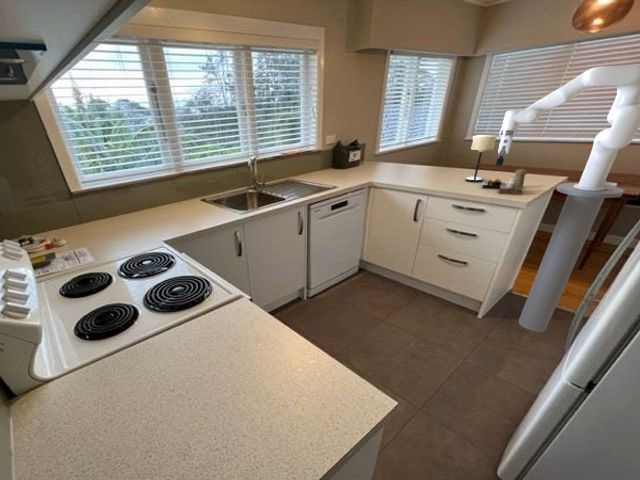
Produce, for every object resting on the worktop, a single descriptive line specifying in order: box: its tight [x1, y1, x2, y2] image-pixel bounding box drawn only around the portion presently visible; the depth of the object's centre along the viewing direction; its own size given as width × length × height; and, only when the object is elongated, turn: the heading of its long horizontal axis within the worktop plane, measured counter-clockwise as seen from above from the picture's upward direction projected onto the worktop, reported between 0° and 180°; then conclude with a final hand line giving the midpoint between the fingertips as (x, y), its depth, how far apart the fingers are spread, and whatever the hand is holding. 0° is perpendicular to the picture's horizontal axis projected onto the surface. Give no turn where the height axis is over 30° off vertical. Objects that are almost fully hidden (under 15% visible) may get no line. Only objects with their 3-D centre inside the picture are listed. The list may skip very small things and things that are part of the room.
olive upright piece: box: [514, 168, 528, 189], centre depth 181 cm, size 6×6×11 cm
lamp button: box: [491, 177, 500, 182], centre depth 186 cm, size 4×4×2 cm
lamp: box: [465, 134, 498, 183], centre depth 199 cm, size 12×12×29 cm
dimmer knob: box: [506, 176, 518, 188], centre depth 173 cm, size 4×4×6 cm
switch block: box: [482, 179, 506, 190], centre depth 187 cm, size 11×9×4 cm
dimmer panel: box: [498, 184, 523, 196], centre depth 175 cm, size 10×9×3 cm
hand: (498, 165), depth 182 cm, fingers closed
